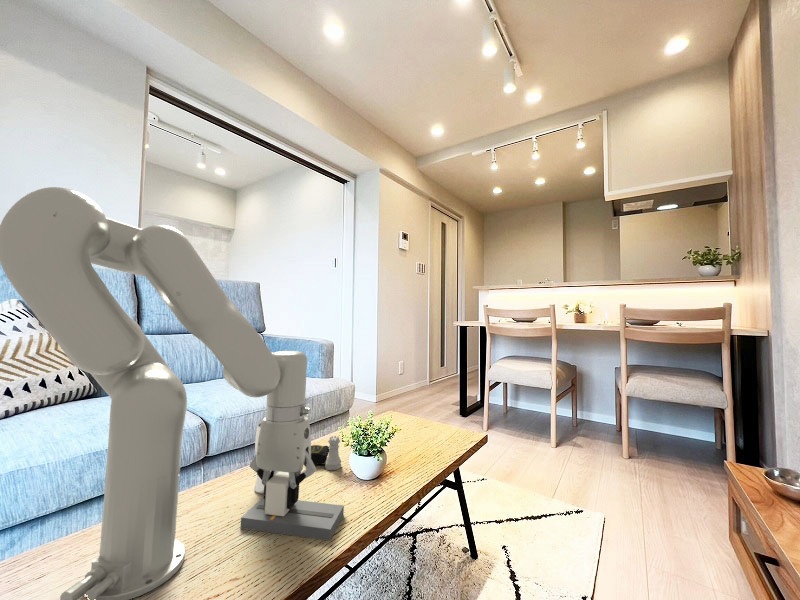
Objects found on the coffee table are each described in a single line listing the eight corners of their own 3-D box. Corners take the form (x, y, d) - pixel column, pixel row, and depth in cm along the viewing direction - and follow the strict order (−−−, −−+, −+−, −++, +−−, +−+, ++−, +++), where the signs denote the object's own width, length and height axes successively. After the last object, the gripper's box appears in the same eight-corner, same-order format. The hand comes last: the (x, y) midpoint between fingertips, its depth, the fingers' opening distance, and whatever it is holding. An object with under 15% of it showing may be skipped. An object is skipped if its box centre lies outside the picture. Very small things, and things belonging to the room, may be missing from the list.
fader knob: (283, 516, 65) (285, 484, 65) (264, 513, 65) (266, 482, 66) (295, 502, 70) (297, 472, 70) (277, 500, 70) (279, 471, 71)
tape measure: (325, 467, 92) (326, 453, 92) (300, 467, 91) (301, 453, 92) (329, 457, 99) (330, 444, 99) (306, 456, 98) (307, 443, 98)
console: (329, 540, 62) (330, 528, 62) (240, 528, 64) (241, 517, 64) (343, 515, 70) (343, 505, 70) (263, 505, 72) (263, 495, 72)
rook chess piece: (337, 471, 89) (338, 441, 89) (321, 469, 90) (323, 439, 90) (343, 464, 93) (344, 435, 94) (328, 462, 94) (330, 434, 95)
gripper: (331, 410, 71) (327, 499, 70) (258, 404, 74) (253, 490, 72) (317, 420, 64) (312, 520, 63) (236, 413, 66) (231, 509, 65)
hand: (280, 503), depth 68 cm, fingers closed on fader knob, 4 cm apart
